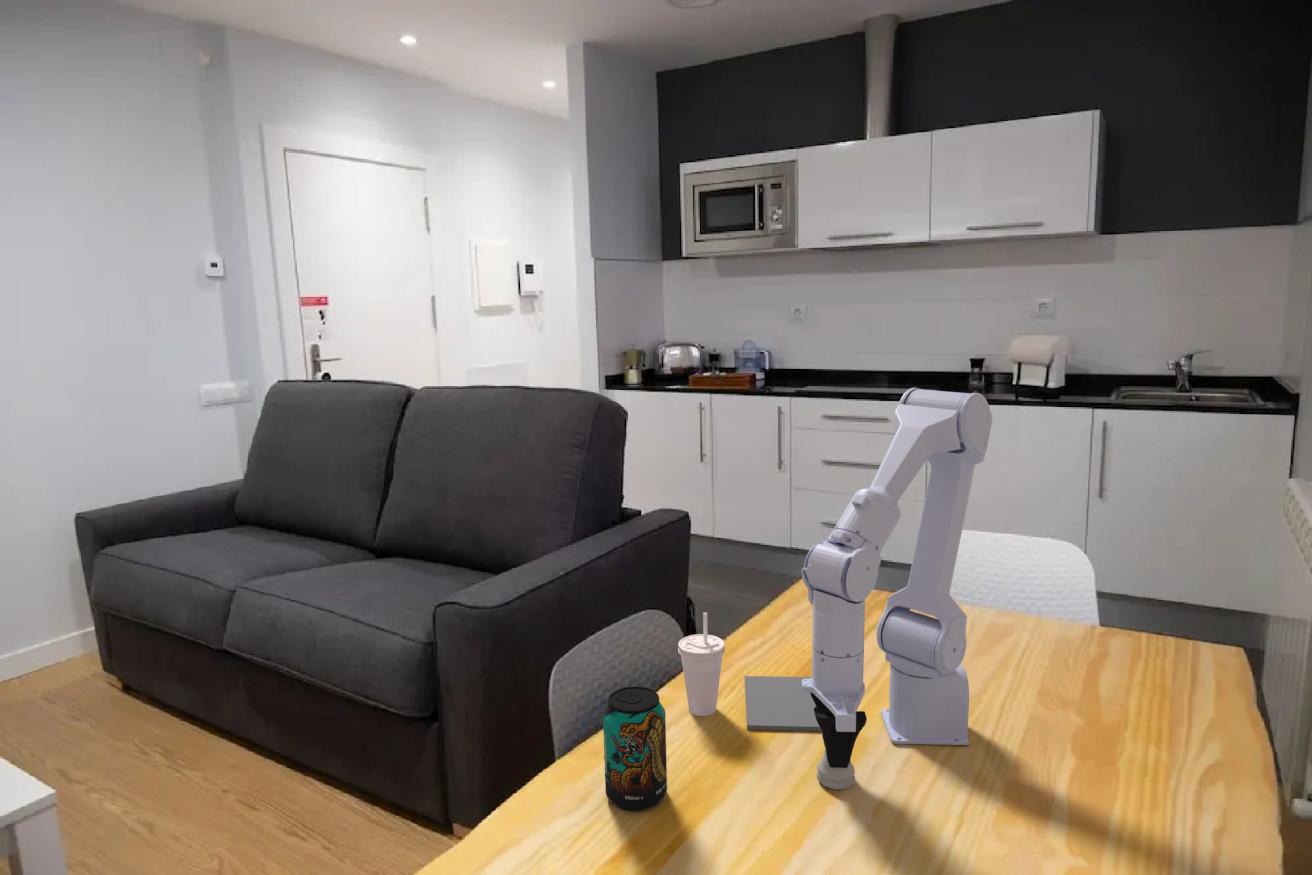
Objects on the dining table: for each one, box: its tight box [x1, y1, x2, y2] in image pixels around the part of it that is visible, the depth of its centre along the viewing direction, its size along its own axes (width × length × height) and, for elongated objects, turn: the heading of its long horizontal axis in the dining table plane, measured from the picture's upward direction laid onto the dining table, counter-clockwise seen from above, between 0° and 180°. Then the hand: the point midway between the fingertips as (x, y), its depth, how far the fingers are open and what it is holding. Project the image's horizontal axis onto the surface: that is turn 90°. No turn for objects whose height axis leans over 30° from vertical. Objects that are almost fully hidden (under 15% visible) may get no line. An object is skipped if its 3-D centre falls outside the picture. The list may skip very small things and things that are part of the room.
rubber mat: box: [744, 675, 822, 732], centre depth 114 cm, size 14×14×1 cm
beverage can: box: [602, 686, 668, 812], centre depth 94 cm, size 7×7×12 cm
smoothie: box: [677, 612, 726, 717], centre depth 112 cm, size 6×6×14 cm
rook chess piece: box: [816, 747, 856, 791], centre depth 96 cm, size 4×4×8 cm
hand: (836, 756), depth 96 cm, fingers closed on rook chess piece, 3 cm apart
